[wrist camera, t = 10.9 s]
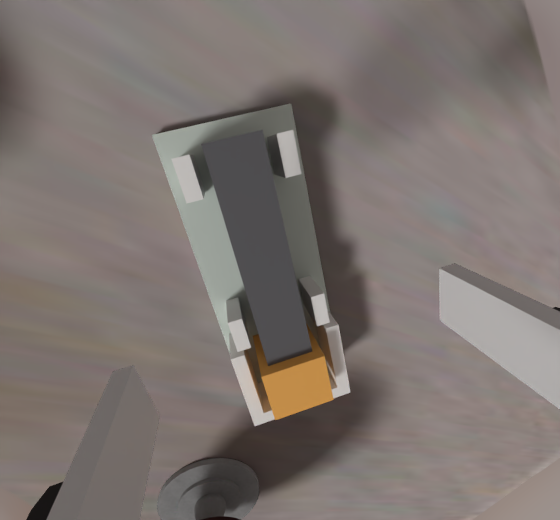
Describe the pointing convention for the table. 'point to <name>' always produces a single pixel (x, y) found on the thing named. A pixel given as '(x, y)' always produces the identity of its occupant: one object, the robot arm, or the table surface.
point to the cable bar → (267, 274)
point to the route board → (219, 253)
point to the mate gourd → (209, 491)
